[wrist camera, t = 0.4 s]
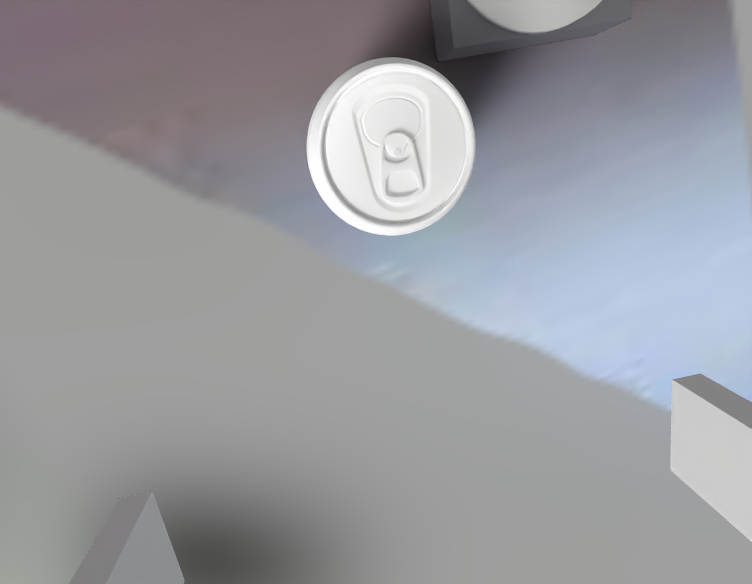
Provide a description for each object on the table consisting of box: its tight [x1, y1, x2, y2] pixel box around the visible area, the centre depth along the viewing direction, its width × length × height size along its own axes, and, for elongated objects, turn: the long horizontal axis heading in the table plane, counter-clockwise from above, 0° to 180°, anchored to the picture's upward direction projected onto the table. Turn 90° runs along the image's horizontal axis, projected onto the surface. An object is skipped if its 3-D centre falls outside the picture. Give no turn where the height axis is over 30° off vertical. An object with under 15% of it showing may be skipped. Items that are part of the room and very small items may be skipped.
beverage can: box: [307, 57, 476, 235], centre depth 27 cm, size 8×8×12 cm
